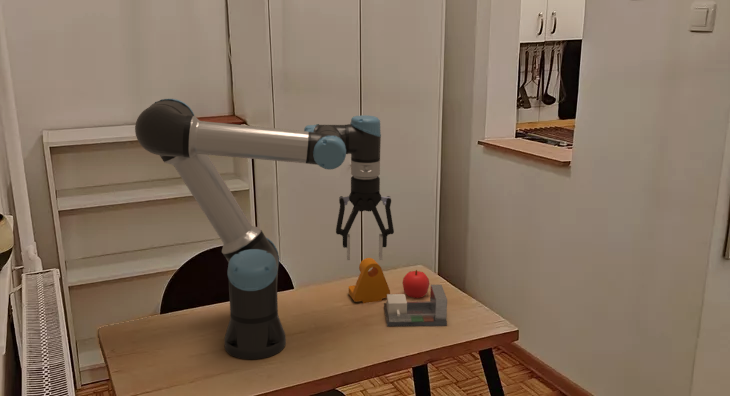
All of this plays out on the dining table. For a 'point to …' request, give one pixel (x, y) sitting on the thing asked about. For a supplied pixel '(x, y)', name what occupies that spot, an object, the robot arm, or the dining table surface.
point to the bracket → (369, 283)
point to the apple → (415, 284)
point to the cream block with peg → (396, 304)
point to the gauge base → (422, 311)
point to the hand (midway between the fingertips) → (364, 258)
